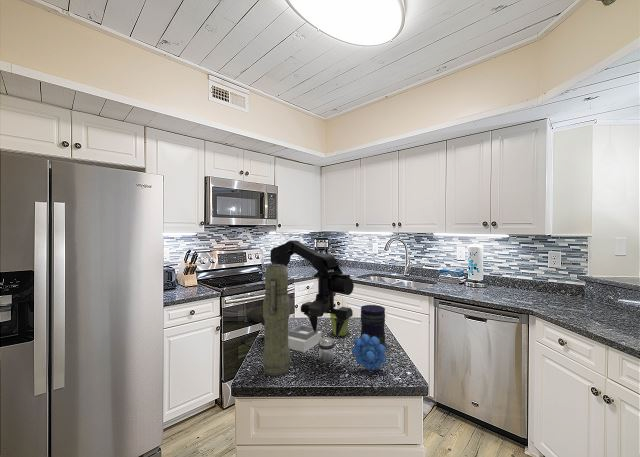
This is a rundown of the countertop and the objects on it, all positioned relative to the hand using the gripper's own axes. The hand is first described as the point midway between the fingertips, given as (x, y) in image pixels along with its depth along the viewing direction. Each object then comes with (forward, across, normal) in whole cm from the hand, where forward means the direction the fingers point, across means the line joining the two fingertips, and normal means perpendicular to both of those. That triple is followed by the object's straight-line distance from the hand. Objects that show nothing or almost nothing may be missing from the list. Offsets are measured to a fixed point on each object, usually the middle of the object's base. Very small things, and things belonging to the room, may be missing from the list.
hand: (325, 333), depth 103 cm
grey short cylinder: (+9, 0, 0) cm, 9 cm away
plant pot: (+9, -7, +25) cm, 28 cm away
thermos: (+9, -11, -15) cm, 21 cm away
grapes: (+9, +17, -1) cm, 19 cm away
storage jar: (+9, +10, +21) cm, 25 cm away
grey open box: (+9, -14, +7) cm, 18 cm away
